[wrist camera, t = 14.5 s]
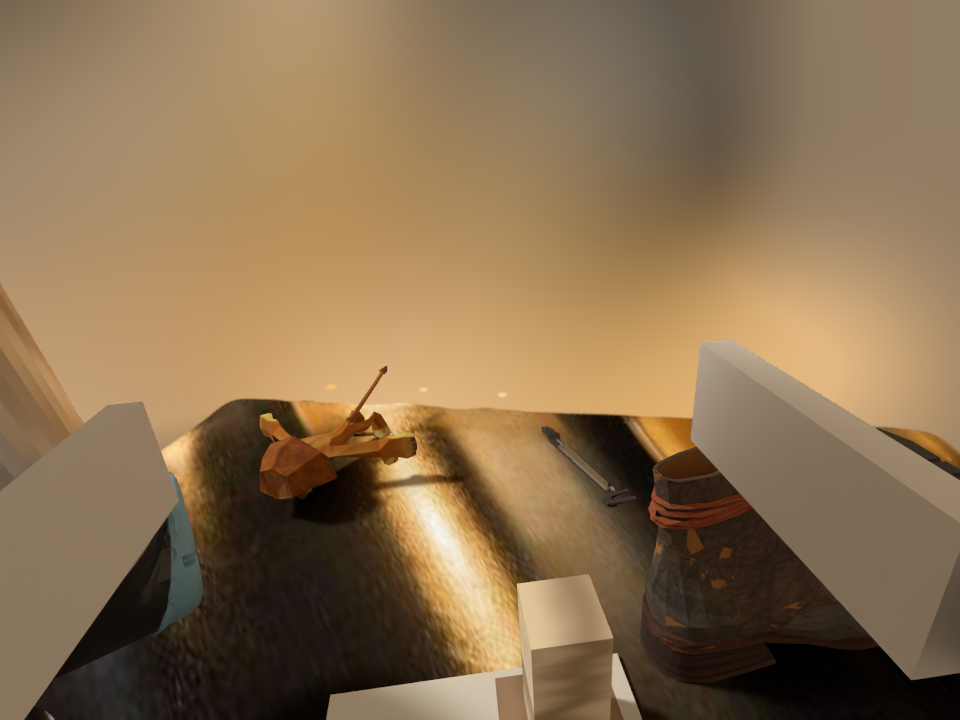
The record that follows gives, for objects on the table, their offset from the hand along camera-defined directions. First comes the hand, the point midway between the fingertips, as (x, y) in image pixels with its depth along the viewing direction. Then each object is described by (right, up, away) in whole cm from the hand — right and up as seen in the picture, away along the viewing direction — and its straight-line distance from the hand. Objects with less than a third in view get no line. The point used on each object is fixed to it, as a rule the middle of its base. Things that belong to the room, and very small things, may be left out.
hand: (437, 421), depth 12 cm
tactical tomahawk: (+17, -14, +63) cm, 67 cm away
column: (+7, -26, +25) cm, 36 cm away
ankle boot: (+31, -23, +38) cm, 54 cm away
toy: (-20, -14, +69) cm, 74 cm away
